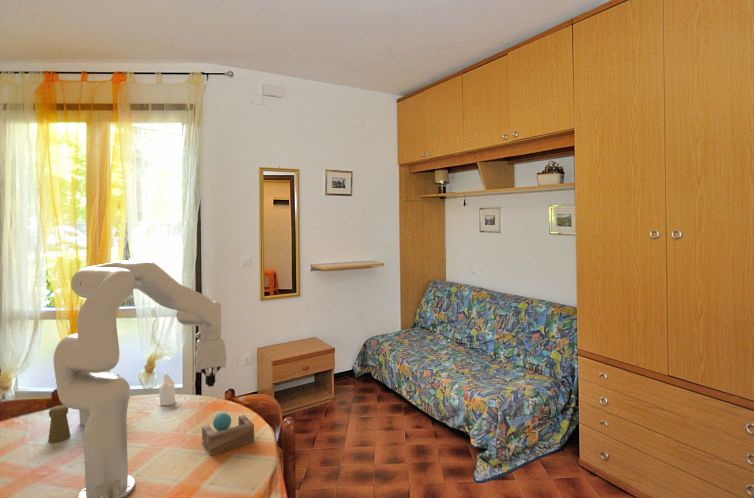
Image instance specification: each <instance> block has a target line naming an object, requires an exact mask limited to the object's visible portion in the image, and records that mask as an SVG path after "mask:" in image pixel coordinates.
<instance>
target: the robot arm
mask: <svg viewBox="0 0 754 498" xmlns="http://www.w3.org/2000/svg"><path fill="white" fill-rule="evenodd" d="M70 288H71V290H72V291H73V293H74V295H76V296H78V297H80V298H83V299H85V301H84V302H83V303H82V305H81V307H79V310H78V313H77V317H76V330H77V333H72V334H69V335H67V336H65V337H63V338H62V339H61V340H60V341H59V343H58V344H57V345H56V348H55V349H54V354H53V367H54V368H53V370H54V376H55V383H56V390H57V396H58V398H59V401H60V403H61V405H64V406H66V407H68V409H73V410H78V411H79V410H84V411H88V412H90V417H89V419H88V421H87V423H86V425H85V426H84V429H83V450H84V452H83V453H84V456H83V457H84V488H83V489H82V490H81V491H80V492H79V494H78V496H77V498H123V497H124V498H126V497H127V496H128V495H129V494H131V493H132V491H133V490H135V486H136V480H135V479H134V477H132V476H131V475H129V470H128V469H129V467H128V466H129V465H128V464H129V463H128V462H129V460H128V429H127V428H128V426H127V425H128V424H127V422H128V421H127V420H128V419H127V417H128V408H129V407H128V406H129V400H130V396H131V386H130V383H129V382H128V381H127V380H126V379H125V378H123V377H121V376H120V375H119V376H116V375H110V374H102V373H99V372H109V371H111V370H113V369H115V368H116V366H117V365H118V364H119V361H120V343H119V336H118V327H117V315H118V312H119V309H120V307H121V306H122V304H123V303H124V302H125V301H126V300H127V298H128V297H129V296H130V295H131V294H132V292H133V291H134V290H138V291H140V292H142V293H143V294H144V295H146V296H147V297H148V298H149V299H151V300H152V301H154V302H155V303H156V304H158V305H159V306H160V307H164V308H166V309H169V310H174V311H176V315H175V316H176V320H177V322H178V323H180V324H181V325H184V326H189V327H190V326H191V327H198V331H197V333H195V334H194V339H197V340H196V343H195V344H196V345H195V348H194V366H195V367H194V372H195V373H202V374H203V375H204V376H205V382H204V383H205V385H207V386H208V387H209V388H211V387H214V386H215V384H216V375H217V373H218V372H219V371H220V369H223V368H226V364H227V351H226V350H227V348H226V342H225V338H224V337H222V304H221V301H218V300H211V299H210V298H209V297H208V296H206V295H204V294H202V293H200V292H198V291H196V290H195V289H191V288H190V287H188V286H185V285H183V284H180V283H179V282H178V281H176V279H175V278H173V277H172V276H170V274H168V273H167V272H166V271H165V270H164V269H162V268H161V267H160V266H159V265H157V263H155V262H153V261H150V260H129V259H128V260H126V259H125V260H118V261H113V262H108V263H103V264H97V265H91V266H86V267H82V268H80V269H79V270H77V271H76V272H75V273H74V274H73V275H72V277H71V281H70Z"/></svg>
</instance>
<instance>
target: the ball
mask: <svg viewBox="0 0 754 498" xmlns="http://www.w3.org/2000/svg"><path fill="white" fill-rule="evenodd" d="M212 421H213V422H212V425H213V428H214V429H215V430H216V431H217V432H219V431H222V430H226V429H229V428H230V426H231V424H232V418H231V416H230V414H228V413H227V412H220V413H218V414H217V415H216V416H215V417H214V418H213V420H212Z"/></svg>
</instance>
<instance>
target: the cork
mask: <svg viewBox="0 0 754 498" xmlns="http://www.w3.org/2000/svg"><path fill="white" fill-rule="evenodd" d="M68 413H69V408H68V407H66V406H64V405H63V404H60V405H55V406H53V407H51V408H50V409H49V411H48V417H50V425H49V426H50V427H49V433H48V440H47V441H48V443H50V444H58V443H61V442H64V441H66V440H68V439H70V438H71V432H70V427H69V422H68V421H69V420H68V416H67V415H68Z"/></svg>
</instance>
